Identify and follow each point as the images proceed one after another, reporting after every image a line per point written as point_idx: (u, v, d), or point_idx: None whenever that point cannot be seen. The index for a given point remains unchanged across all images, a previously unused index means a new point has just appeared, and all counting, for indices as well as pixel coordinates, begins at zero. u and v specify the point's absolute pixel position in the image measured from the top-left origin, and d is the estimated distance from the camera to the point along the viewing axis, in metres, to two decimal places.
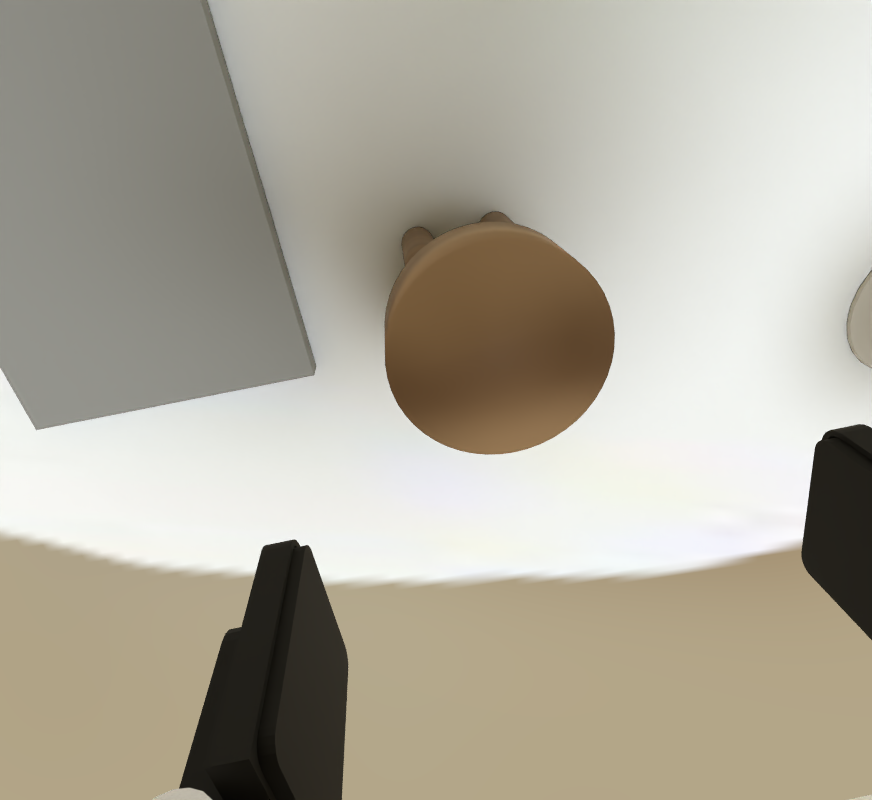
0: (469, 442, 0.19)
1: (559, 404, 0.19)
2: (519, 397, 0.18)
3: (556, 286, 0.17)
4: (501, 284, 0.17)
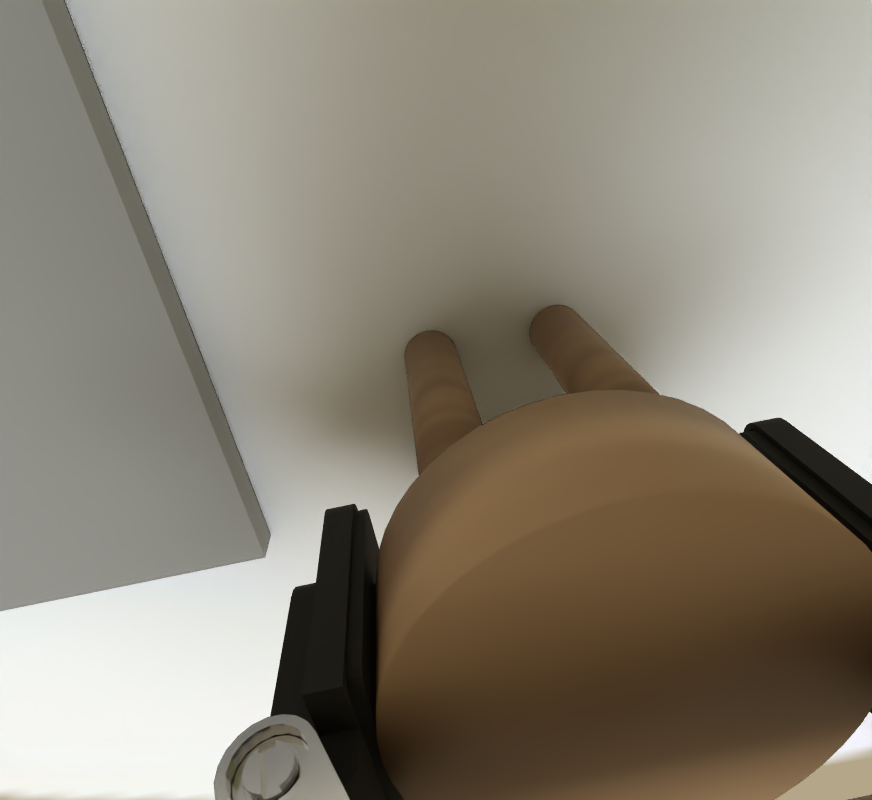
0: None
1: (749, 776, 0.09)
2: (667, 771, 0.09)
3: (786, 579, 0.07)
4: (660, 583, 0.07)
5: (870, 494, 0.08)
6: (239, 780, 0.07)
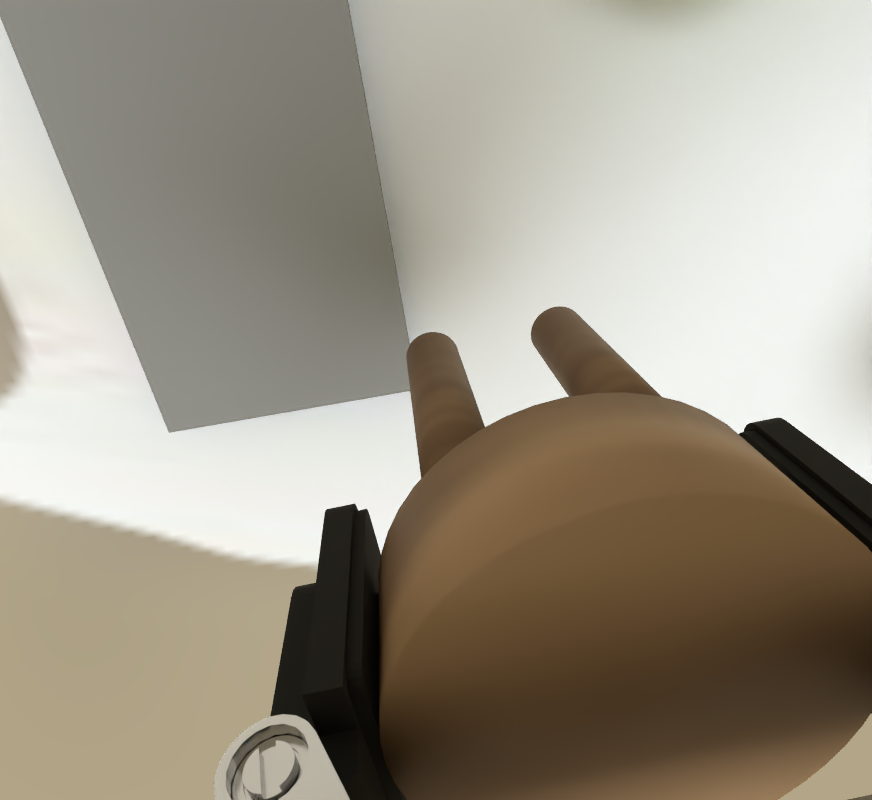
0: None
1: (751, 777, 0.09)
2: (669, 773, 0.09)
3: (789, 580, 0.07)
4: (661, 585, 0.07)
5: (870, 494, 0.08)
6: (239, 780, 0.07)
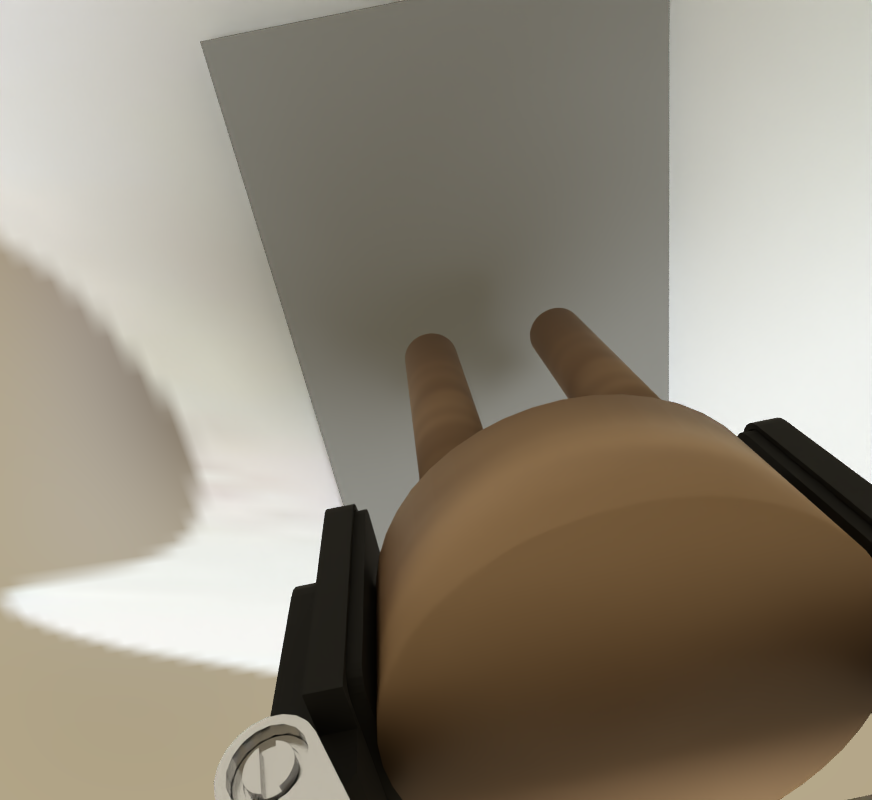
0: None
1: (749, 779, 0.09)
2: (667, 776, 0.09)
3: (787, 583, 0.07)
4: (659, 588, 0.07)
5: (870, 494, 0.08)
6: (239, 780, 0.07)
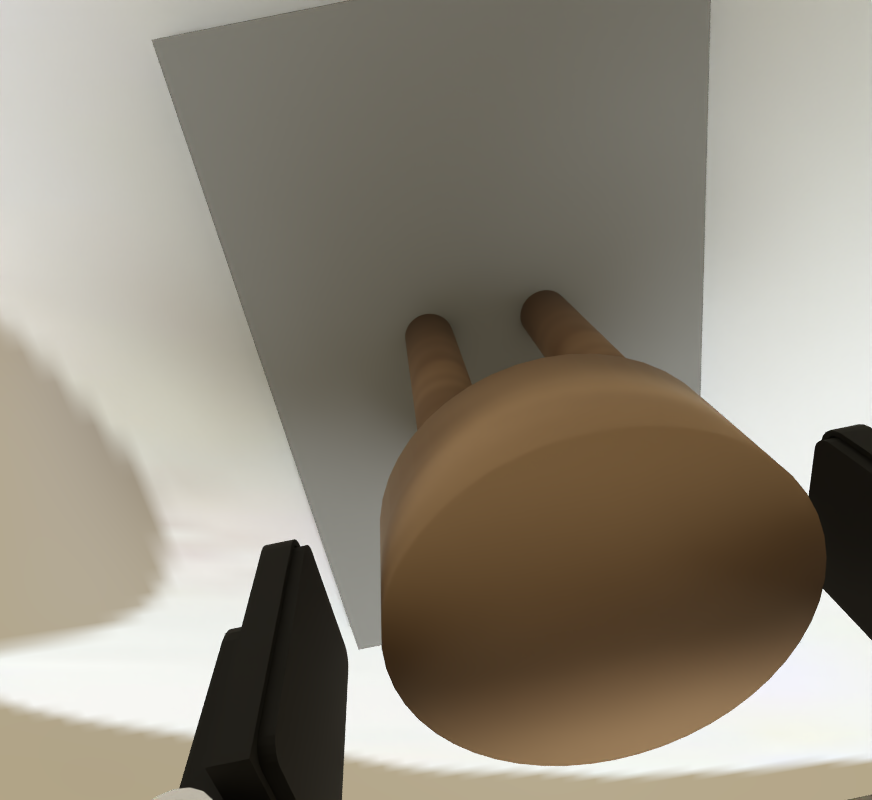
0: (537, 752, 0.10)
1: (705, 689, 0.10)
2: (633, 683, 0.10)
3: (727, 505, 0.08)
4: (619, 507, 0.08)
5: None
6: None
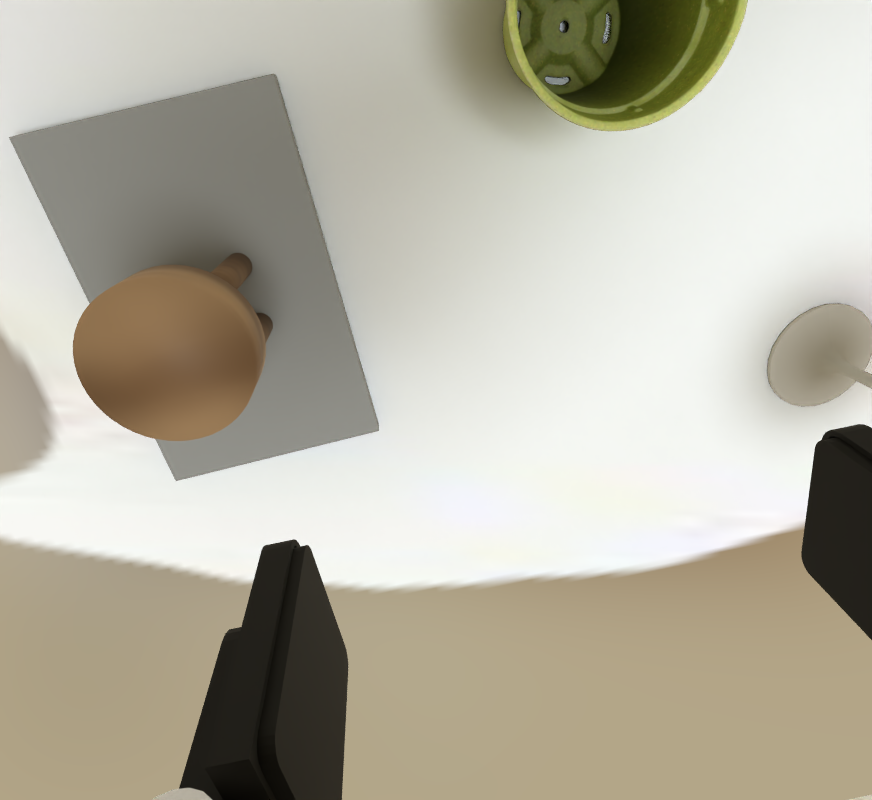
0: (161, 432, 0.25)
1: (225, 399, 0.25)
2: (191, 395, 0.24)
3: (194, 310, 0.23)
4: (151, 311, 0.23)
5: None
6: None
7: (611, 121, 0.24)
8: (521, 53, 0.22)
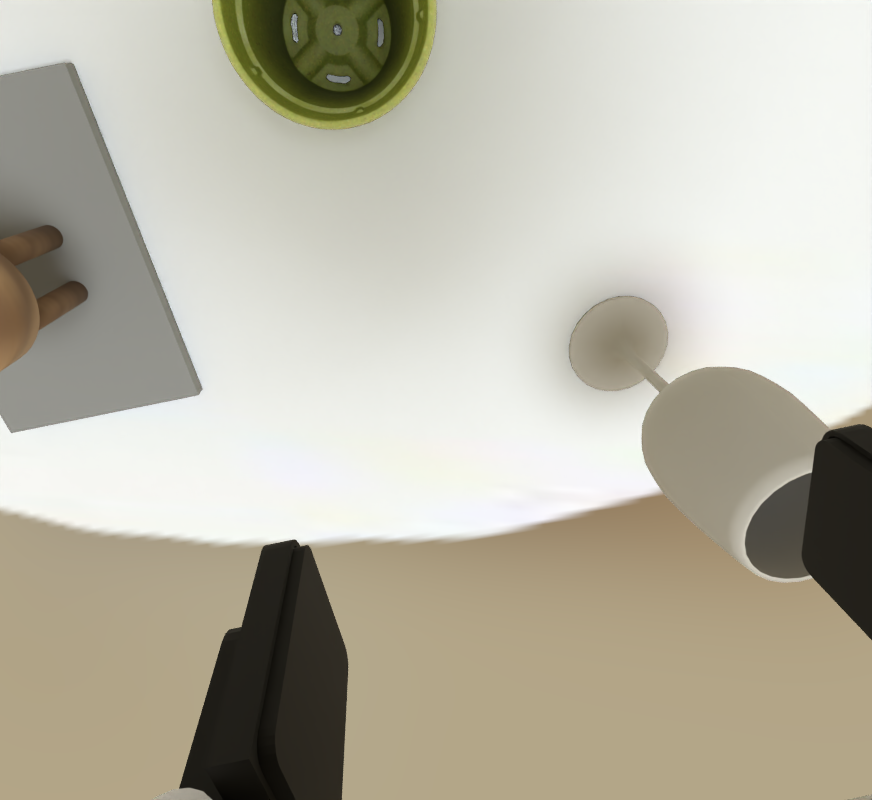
0: None
1: None
2: None
3: None
4: None
5: None
6: None
7: (327, 120, 0.27)
8: (233, 57, 0.25)
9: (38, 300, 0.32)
